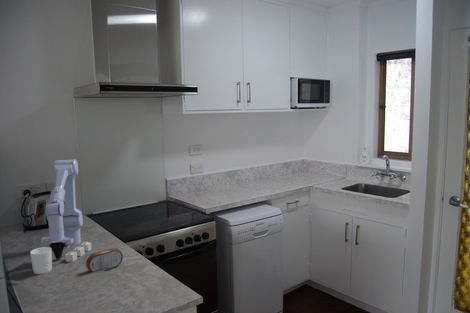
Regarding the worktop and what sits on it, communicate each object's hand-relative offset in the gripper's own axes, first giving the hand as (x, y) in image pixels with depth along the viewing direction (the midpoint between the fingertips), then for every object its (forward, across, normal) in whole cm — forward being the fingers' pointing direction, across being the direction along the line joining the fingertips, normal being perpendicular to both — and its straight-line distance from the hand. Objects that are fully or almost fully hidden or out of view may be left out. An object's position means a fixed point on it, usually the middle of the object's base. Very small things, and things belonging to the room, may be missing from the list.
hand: (58, 258), depth 161 cm
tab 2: (+1, +6, +6) cm, 9 cm away
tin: (+2, +25, -5) cm, 26 cm away
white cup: (+2, 0, -11) cm, 11 cm away
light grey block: (+1, +6, +12) cm, 13 cm away
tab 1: (+1, +6, 0) cm, 6 cm away
